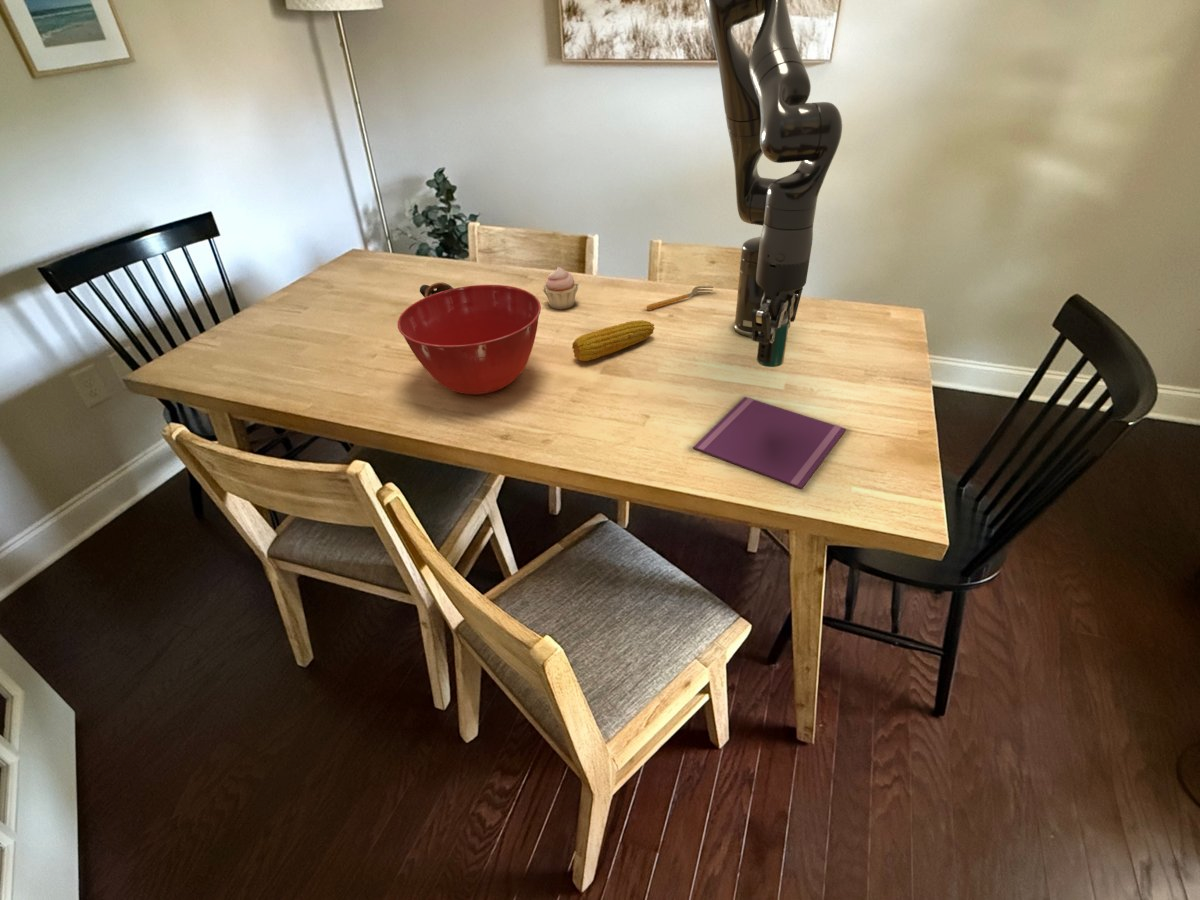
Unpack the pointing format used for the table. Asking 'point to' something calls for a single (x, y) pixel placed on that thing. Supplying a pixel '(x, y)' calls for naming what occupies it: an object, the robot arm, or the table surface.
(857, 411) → the table surface
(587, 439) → the table surface
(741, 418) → the napkin
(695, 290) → the fork
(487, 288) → the mixing bowl
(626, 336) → the food
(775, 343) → the salt shaker
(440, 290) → the pottery mug
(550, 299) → the cupcake
